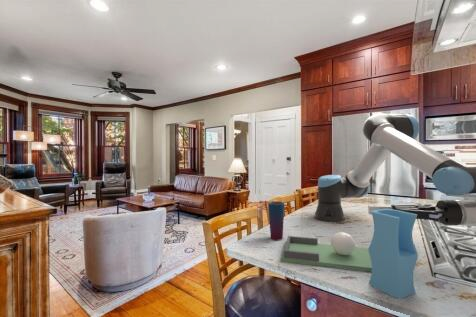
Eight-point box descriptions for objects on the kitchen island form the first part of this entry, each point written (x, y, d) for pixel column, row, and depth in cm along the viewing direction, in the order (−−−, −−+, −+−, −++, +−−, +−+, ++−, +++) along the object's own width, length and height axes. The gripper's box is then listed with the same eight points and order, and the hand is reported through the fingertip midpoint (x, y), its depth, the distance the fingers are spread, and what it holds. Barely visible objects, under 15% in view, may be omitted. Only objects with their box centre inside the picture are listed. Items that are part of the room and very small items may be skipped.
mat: (382, 252, 84) (382, 249, 84) (398, 275, 69) (398, 271, 69) (285, 243, 94) (285, 240, 94) (281, 261, 79) (281, 257, 79)
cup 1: (274, 234, 105) (274, 200, 105) (287, 237, 101) (287, 202, 100) (265, 238, 101) (264, 203, 100) (278, 242, 96) (278, 205, 95)
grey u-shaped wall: (317, 244, 90) (317, 238, 90) (319, 261, 76) (318, 254, 76) (288, 241, 93) (288, 235, 93) (284, 257, 79) (284, 250, 79)
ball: (343, 248, 86) (343, 228, 85) (360, 257, 78) (360, 234, 78) (326, 251, 83) (326, 230, 83) (342, 260, 76) (342, 237, 76)
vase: (397, 299, 58) (397, 218, 57) (368, 283, 65) (368, 211, 64) (417, 291, 61) (417, 214, 60) (387, 277, 68) (387, 208, 67)
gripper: (470, 231, 65) (373, 226, 72) (445, 219, 77) (365, 216, 85) (469, 204, 65) (373, 202, 72) (445, 196, 77) (364, 195, 85)
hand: (368, 209), depth 78 cm, fingers closed
